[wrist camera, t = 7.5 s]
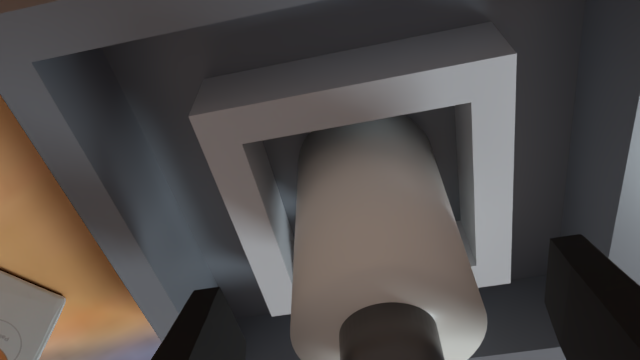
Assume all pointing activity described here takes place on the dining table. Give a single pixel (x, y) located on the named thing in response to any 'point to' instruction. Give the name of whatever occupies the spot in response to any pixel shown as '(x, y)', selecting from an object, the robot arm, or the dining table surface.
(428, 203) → the bottle
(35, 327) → the small box
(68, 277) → the dining table surface
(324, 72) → the walled box
